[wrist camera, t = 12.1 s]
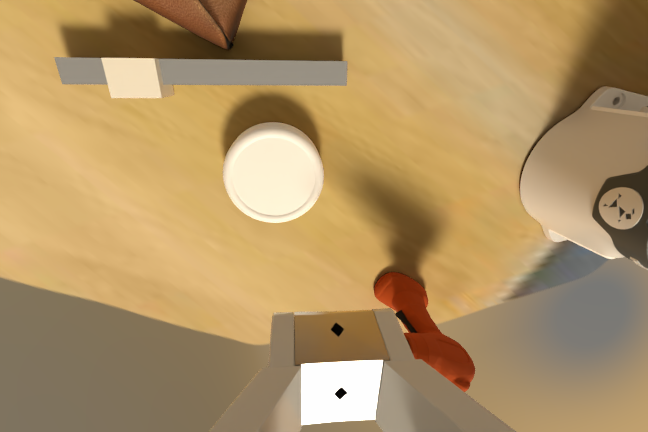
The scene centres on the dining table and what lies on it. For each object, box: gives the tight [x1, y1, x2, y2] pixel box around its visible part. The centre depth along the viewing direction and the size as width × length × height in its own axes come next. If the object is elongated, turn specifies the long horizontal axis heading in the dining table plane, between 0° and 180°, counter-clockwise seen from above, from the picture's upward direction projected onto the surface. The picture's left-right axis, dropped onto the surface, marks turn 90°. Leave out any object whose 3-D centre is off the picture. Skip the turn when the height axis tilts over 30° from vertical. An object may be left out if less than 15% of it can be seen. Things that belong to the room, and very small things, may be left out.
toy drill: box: [374, 272, 475, 392], centre depth 35 cm, size 5×19×15 cm, turn 58°
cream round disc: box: [223, 122, 324, 223], centre depth 33 cm, size 10×10×4 cm
